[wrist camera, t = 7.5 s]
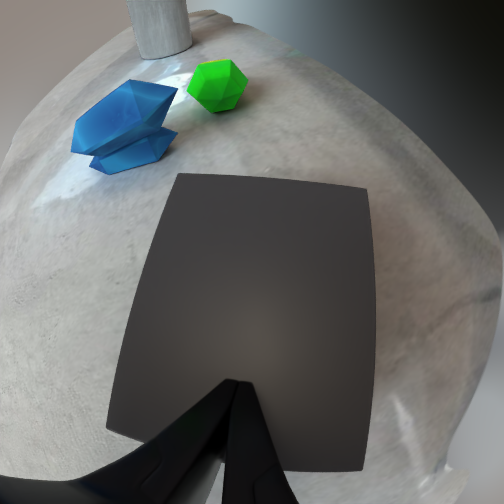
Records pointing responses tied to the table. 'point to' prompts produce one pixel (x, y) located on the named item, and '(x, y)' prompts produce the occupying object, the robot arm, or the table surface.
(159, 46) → the grey fabric cylinder
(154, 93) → the crystal
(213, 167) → the table surface
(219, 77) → the apple
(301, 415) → the lid
